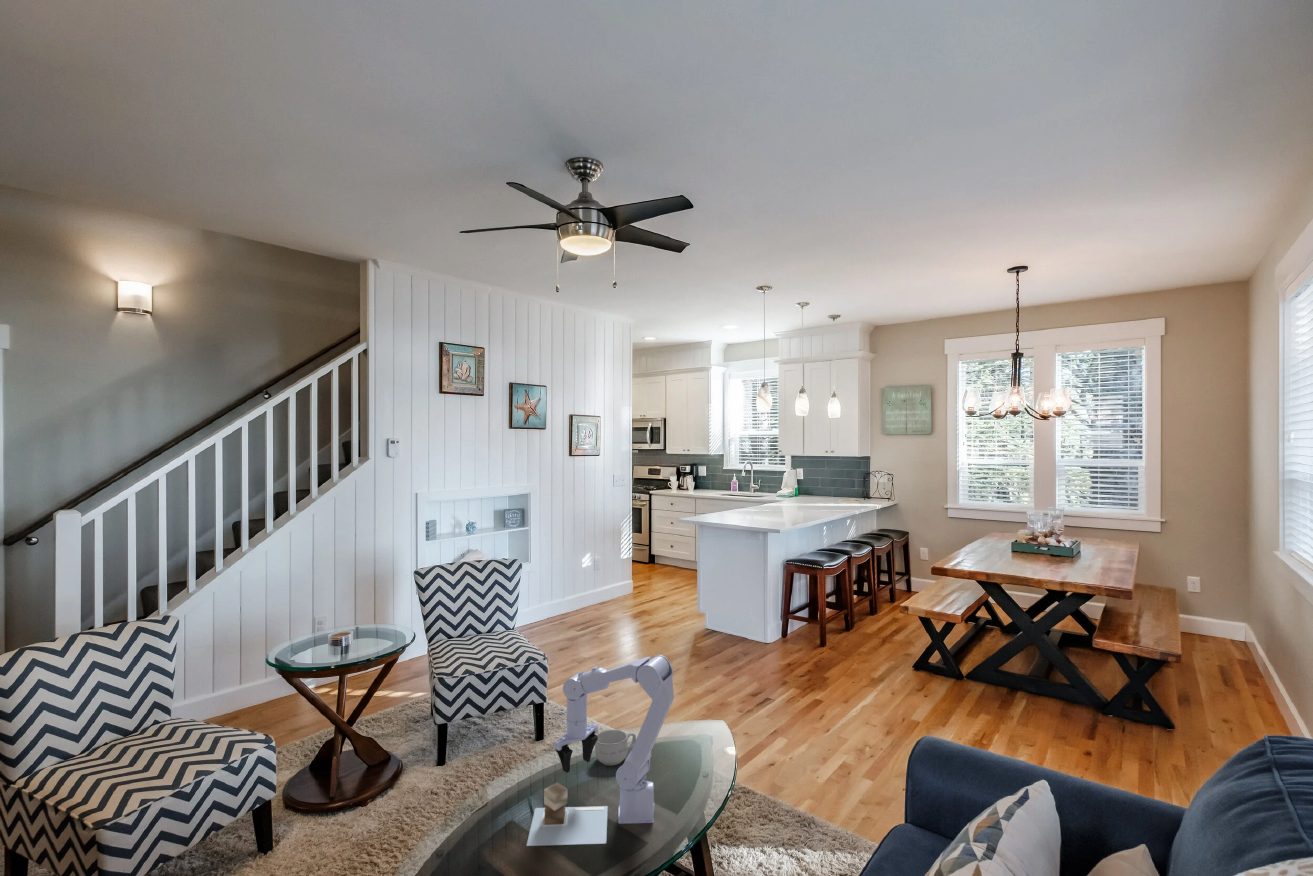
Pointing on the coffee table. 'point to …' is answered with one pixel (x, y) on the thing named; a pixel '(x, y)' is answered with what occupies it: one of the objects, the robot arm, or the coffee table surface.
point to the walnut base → (554, 815)
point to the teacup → (613, 746)
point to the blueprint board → (570, 827)
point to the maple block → (555, 796)
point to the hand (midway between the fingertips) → (576, 766)
